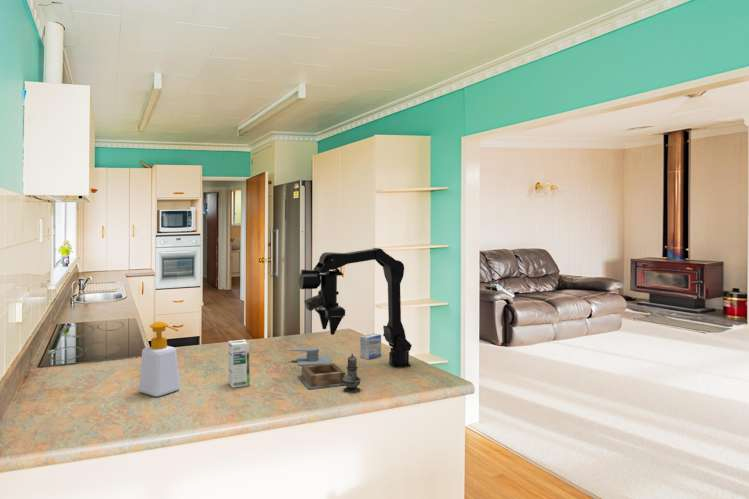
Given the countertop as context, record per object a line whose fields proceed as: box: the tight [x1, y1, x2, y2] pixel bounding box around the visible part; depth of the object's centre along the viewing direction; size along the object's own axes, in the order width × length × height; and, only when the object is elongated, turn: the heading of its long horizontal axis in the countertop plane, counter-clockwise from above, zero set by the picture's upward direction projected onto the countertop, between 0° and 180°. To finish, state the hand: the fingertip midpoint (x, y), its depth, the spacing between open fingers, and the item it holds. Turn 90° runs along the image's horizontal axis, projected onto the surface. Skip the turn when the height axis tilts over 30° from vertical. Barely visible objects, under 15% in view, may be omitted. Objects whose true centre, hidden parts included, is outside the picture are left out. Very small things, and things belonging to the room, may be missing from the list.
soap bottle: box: [138, 321, 181, 397], centre depth 171 cm, size 10×14×22 cm
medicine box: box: [359, 332, 382, 360], centre depth 217 cm, size 8×4×9 cm, turn 139°
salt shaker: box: [343, 353, 362, 394], centre depth 177 cm, size 6×6×12 cm
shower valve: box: [290, 346, 332, 367], centre depth 210 cm, size 12×6×15 cm
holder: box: [297, 362, 346, 390], centre depth 186 cm, size 14×14×4 cm
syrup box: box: [227, 339, 251, 389], centre depth 180 cm, size 6×6×14 cm
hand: (328, 331), depth 195 cm, fingers open, 9 cm apart
